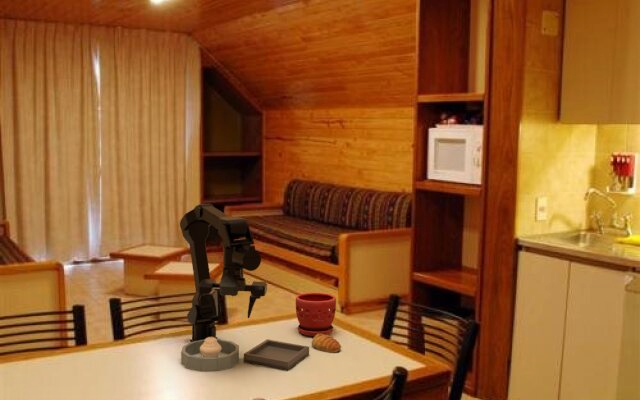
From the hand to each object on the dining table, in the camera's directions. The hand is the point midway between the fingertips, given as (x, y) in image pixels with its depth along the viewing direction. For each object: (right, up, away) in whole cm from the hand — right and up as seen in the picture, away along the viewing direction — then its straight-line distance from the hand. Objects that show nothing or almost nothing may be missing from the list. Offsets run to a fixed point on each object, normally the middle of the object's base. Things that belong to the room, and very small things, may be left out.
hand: (232, 316), depth 187 cm
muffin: (-6, -13, 0) cm, 14 cm away
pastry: (+27, -12, +13) cm, 32 cm away
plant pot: (+23, -10, +27) cm, 37 cm away
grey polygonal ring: (-6, -12, 0) cm, 14 cm away
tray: (+12, -13, +3) cm, 18 cm away
